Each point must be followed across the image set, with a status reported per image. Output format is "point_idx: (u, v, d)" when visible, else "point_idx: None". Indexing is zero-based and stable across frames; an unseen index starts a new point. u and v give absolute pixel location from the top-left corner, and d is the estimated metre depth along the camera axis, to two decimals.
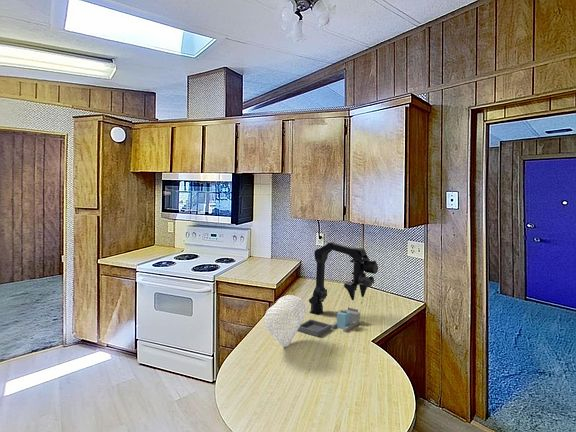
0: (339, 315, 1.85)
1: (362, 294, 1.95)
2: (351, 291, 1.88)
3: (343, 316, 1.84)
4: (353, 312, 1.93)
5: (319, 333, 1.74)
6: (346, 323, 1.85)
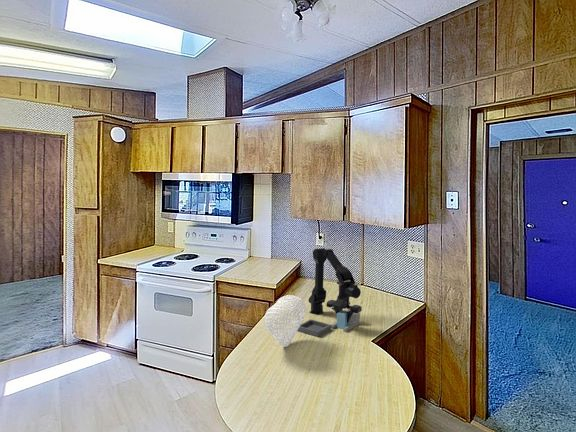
0: (339, 315, 1.85)
1: None
2: None
3: (343, 316, 1.84)
4: None
5: (319, 333, 1.74)
6: (346, 323, 1.85)
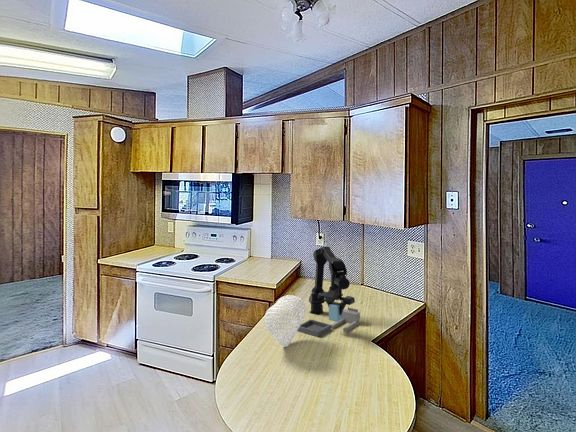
0: (331, 307, 1.78)
1: None
2: None
3: (335, 308, 1.76)
4: (353, 312, 1.93)
5: (319, 333, 1.74)
6: (338, 315, 1.77)
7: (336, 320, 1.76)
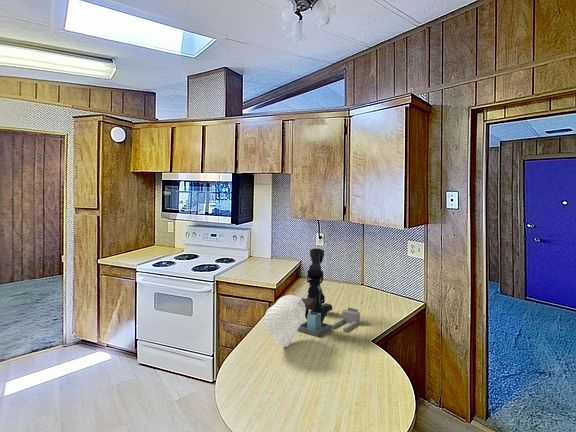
0: (309, 317, 1.80)
1: None
2: None
3: (313, 318, 1.79)
4: (353, 312, 1.93)
5: (319, 333, 1.74)
6: (316, 325, 1.79)
7: None
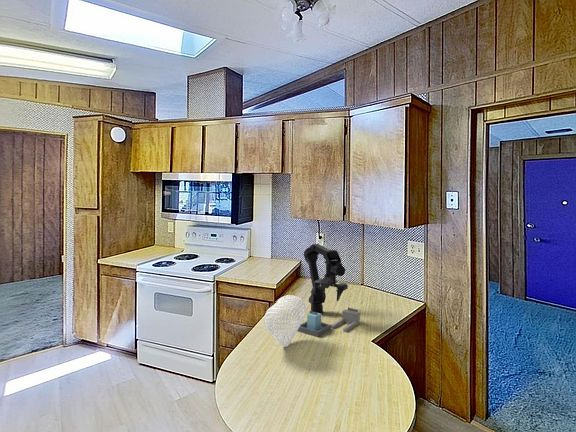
0: (309, 317, 1.80)
1: None
2: None
3: (313, 318, 1.79)
4: (353, 312, 1.93)
5: (319, 333, 1.74)
6: (316, 325, 1.79)
7: None
